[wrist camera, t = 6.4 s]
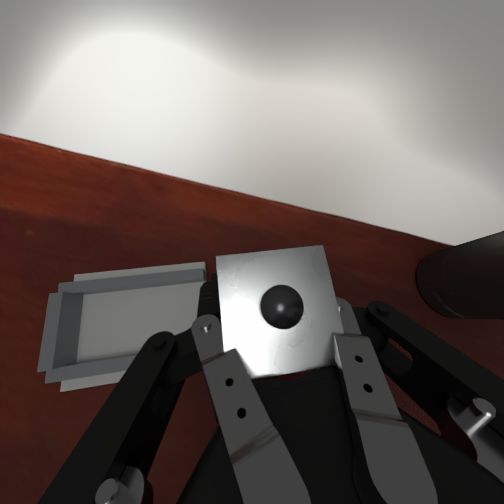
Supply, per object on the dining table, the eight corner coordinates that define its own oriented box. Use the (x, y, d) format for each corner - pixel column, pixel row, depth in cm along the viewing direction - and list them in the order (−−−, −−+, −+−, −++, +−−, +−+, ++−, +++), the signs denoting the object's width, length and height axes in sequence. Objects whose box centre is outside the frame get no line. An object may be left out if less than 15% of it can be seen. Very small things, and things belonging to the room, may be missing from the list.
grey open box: (205, 263, 27) (201, 255, 23) (212, 364, 23) (208, 374, 19) (81, 276, 25) (53, 269, 21) (69, 387, 21) (32, 404, 17)
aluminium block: (277, 280, 18) (326, 241, 8) (286, 334, 17) (357, 364, 7) (226, 286, 18) (214, 253, 8) (231, 343, 16) (226, 388, 7)
